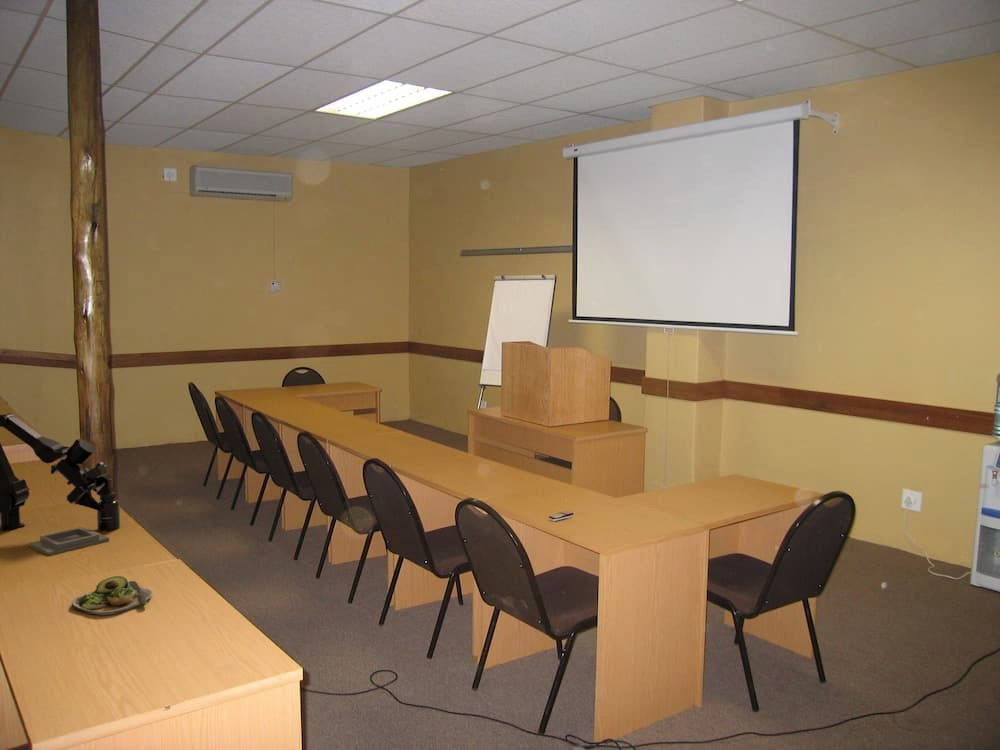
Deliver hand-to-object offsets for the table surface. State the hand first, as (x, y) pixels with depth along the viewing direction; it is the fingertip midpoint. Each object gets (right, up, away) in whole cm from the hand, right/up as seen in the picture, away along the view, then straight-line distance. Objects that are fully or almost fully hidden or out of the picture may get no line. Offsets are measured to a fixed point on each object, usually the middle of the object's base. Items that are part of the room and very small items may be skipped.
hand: (108, 505), depth 259 cm
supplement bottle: (0, -8, +1) cm, 8 cm away
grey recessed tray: (-5, -9, -15) cm, 18 cm away
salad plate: (+31, -15, -59) cm, 68 cm away
